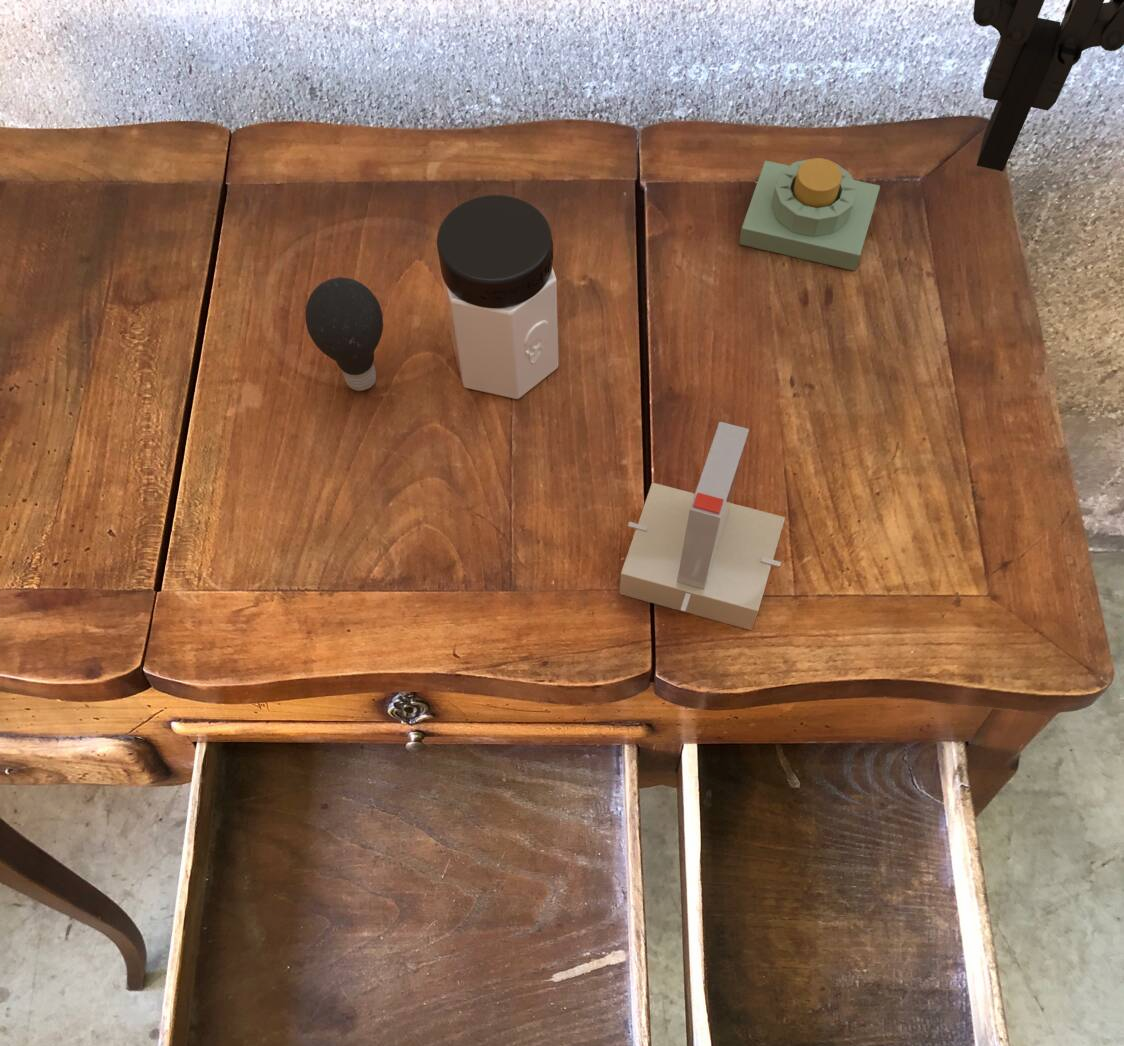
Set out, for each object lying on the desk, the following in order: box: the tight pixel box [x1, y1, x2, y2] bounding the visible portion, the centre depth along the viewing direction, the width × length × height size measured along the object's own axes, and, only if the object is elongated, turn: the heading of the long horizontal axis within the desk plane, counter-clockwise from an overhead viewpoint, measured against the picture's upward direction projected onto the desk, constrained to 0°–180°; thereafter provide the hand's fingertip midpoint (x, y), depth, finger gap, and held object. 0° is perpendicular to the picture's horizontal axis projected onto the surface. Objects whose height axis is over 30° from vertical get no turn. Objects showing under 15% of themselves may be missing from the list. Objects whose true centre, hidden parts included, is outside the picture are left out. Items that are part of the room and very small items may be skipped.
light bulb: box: [304, 276, 384, 391], centre depth 79 cm, size 6×6×10 cm
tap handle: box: [677, 421, 750, 589], centre depth 70 cm, size 7×2×9 cm, turn 162°
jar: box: [436, 194, 560, 400], centre depth 79 cm, size 9×8×12 cm
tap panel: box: [618, 482, 786, 631], centre depth 76 cm, size 11×11×3 cm
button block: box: [738, 158, 881, 272], centre depth 87 cm, size 10×8×4 cm
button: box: [793, 157, 842, 208], centre depth 85 cm, size 4×4×2 cm
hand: (994, 151), depth 59 cm, fingers closed
